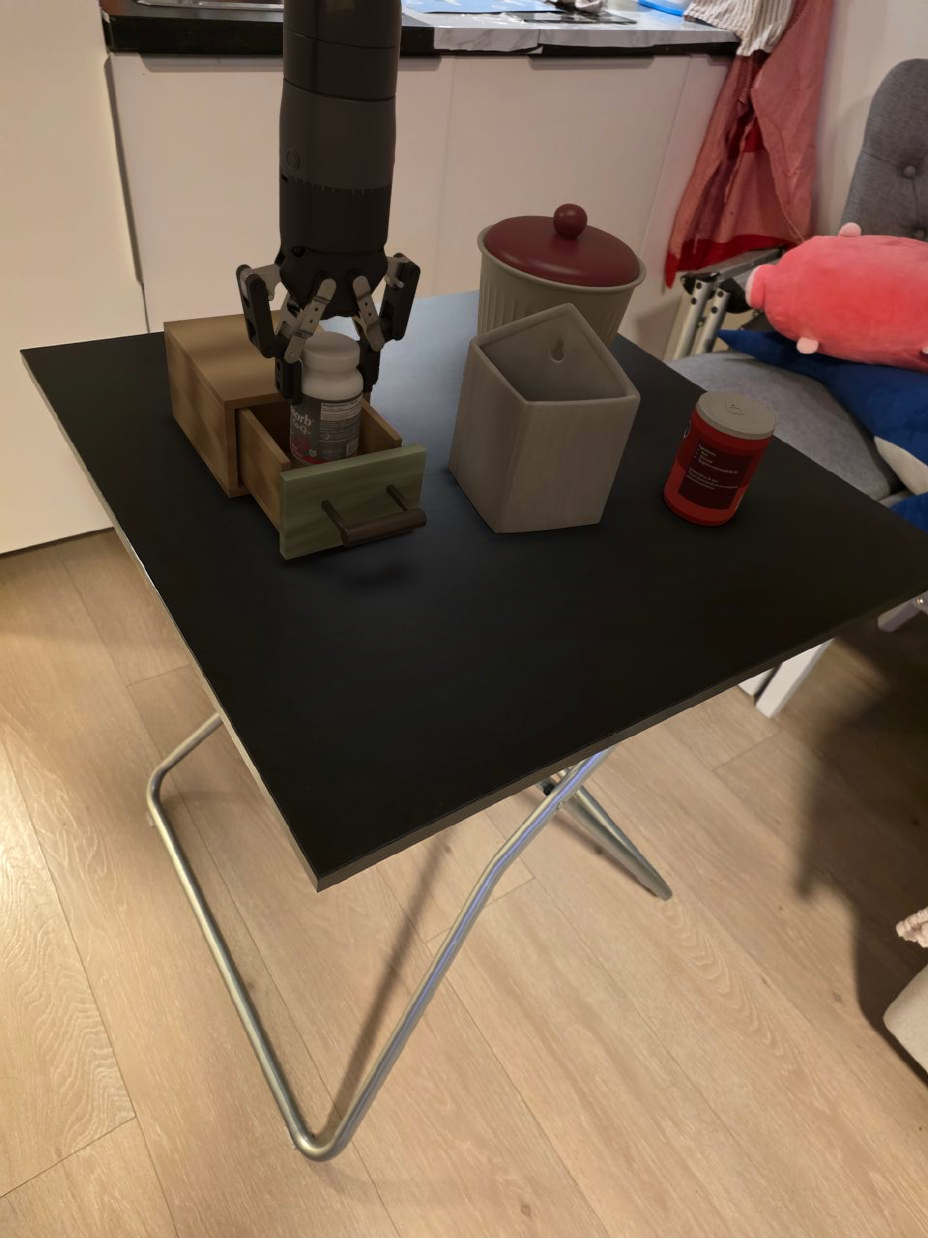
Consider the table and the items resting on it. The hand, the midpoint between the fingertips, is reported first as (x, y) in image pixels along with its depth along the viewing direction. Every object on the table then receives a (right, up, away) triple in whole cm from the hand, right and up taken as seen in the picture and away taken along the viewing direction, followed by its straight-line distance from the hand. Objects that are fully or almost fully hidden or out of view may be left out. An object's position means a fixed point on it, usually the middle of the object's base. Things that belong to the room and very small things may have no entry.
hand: (327, 393), depth 65 cm
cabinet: (-8, -1, +15) cm, 17 cm away
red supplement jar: (+35, -6, +19) cm, 41 cm away
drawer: (-1, -9, +7) cm, 11 cm away
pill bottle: (-1, -4, +4) cm, 6 cm away
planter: (+15, -8, +13) cm, 22 cm away
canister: (+19, +8, +31) cm, 37 cm away
